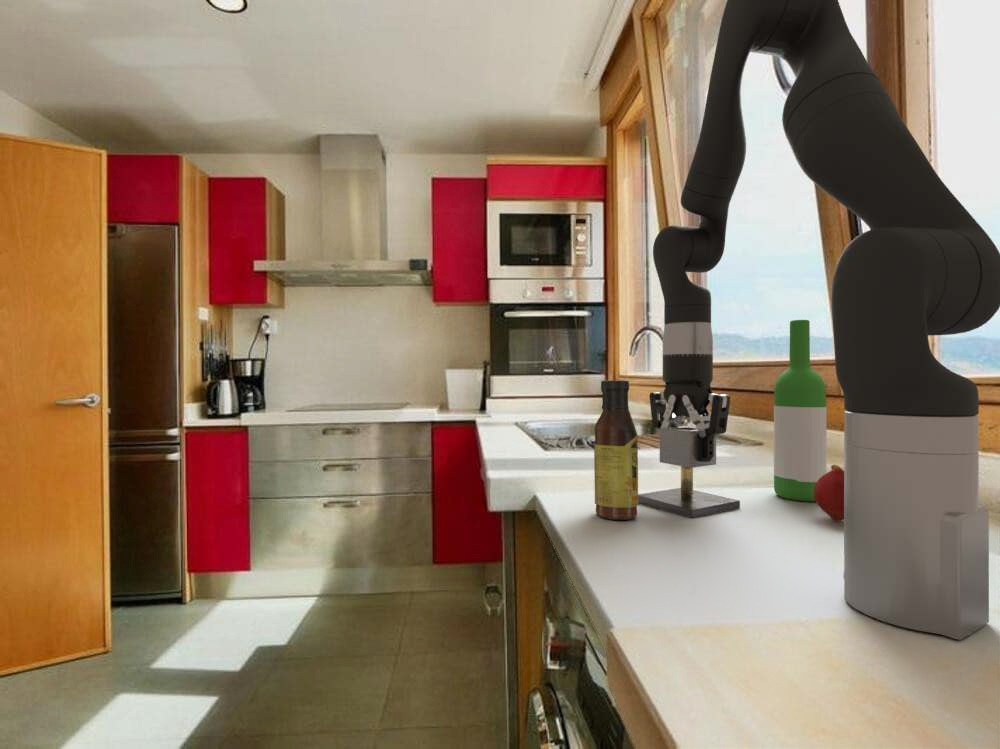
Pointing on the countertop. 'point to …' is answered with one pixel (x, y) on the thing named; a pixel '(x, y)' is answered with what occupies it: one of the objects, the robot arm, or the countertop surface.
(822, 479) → the onion
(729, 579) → the countertop surface
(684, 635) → the countertop surface
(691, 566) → the countertop surface
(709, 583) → the countertop surface
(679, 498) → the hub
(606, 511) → the sauce bottle
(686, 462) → the collar
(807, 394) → the wine bottle
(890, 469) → the robot arm
